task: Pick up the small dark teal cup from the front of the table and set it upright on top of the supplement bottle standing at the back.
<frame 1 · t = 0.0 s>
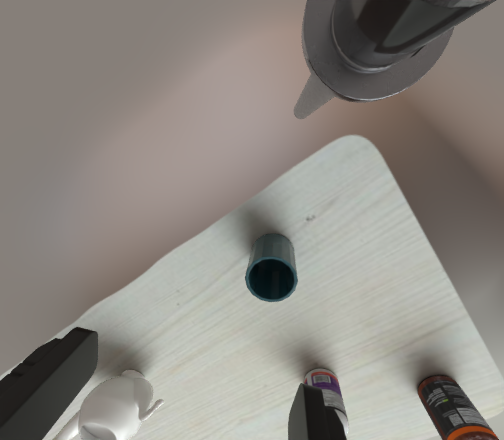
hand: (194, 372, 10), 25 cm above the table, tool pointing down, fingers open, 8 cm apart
supplement bottle: (436, 387, 40), on the table
cup: (272, 253, 35), on the table
teapot: (133, 378, 46), on the table
pill bottle: (320, 379, 42), on the table
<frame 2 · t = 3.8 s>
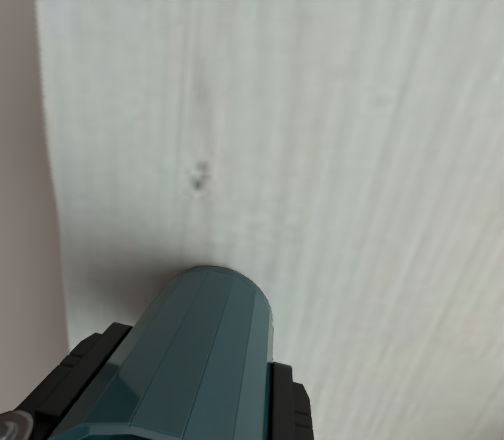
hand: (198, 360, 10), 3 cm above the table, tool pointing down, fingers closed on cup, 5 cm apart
cup: (214, 317, 13), on the table, touching gripper
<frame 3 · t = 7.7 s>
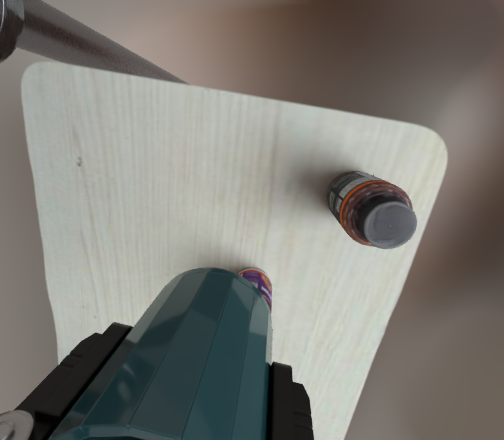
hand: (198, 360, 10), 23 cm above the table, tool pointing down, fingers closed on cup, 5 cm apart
supplement bottle: (350, 194, 31), on the table
cup: (214, 318, 13), point 21 cm above the table, touching gripper
pill bottle: (252, 283, 36), on the table
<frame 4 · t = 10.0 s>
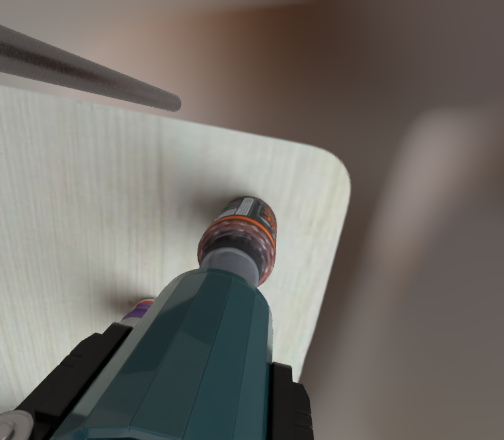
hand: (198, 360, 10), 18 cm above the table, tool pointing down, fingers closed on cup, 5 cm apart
supplement bottle: (249, 221, 27), on the table
cup: (214, 319, 13), point 15 cm above the table, touching gripper
pill bottle: (155, 314, 32), on the table
when the fingers open (14 cm above the table, at t = 11.7 s): cup stays where it is, resting on supplement bottle.
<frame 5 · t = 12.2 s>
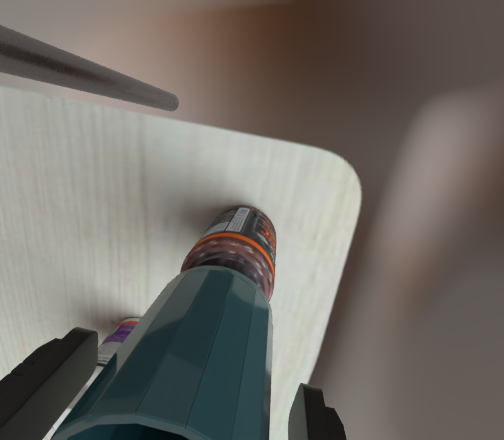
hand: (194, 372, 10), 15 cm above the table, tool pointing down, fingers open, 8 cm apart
supplement bottle: (244, 233, 24), on the table, touching cup
cup: (215, 315, 13), point 11 cm above the table, touching supplement bottle
pill bottle: (140, 334, 29), on the table
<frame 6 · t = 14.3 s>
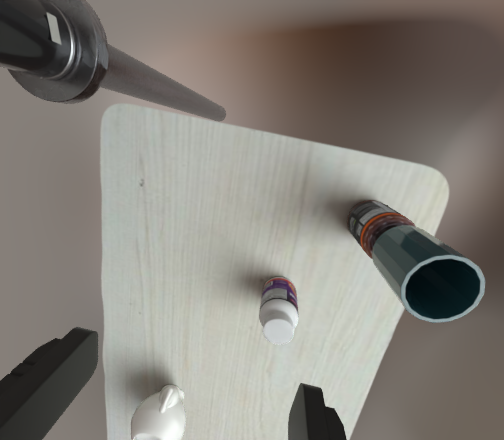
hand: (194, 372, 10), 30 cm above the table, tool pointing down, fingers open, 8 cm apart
supplement bottle: (367, 218, 37), on the table, touching cup
cup: (401, 252, 26), point 11 cm above the table, touching supplement bottle
teapot: (172, 392, 52), on the table
pill bottle: (279, 289, 42), on the table
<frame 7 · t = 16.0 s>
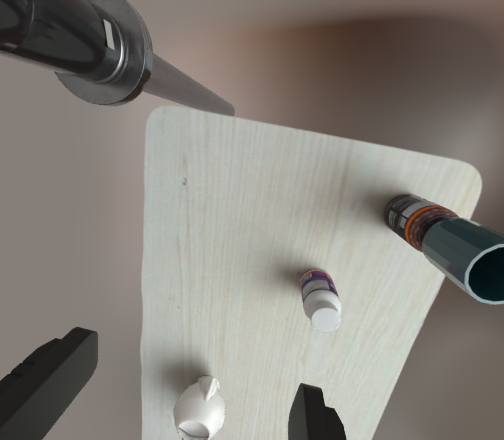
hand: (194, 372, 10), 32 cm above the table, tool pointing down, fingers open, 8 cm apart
supplement bottle: (402, 212, 39), on the table, touching cup
cup: (450, 242, 28), point 11 cm above the table, touching supplement bottle
teapot: (208, 383, 54), on the table
pill bottle: (315, 281, 44), on the table
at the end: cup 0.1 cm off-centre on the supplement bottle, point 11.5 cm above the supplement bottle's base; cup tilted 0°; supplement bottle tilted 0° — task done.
